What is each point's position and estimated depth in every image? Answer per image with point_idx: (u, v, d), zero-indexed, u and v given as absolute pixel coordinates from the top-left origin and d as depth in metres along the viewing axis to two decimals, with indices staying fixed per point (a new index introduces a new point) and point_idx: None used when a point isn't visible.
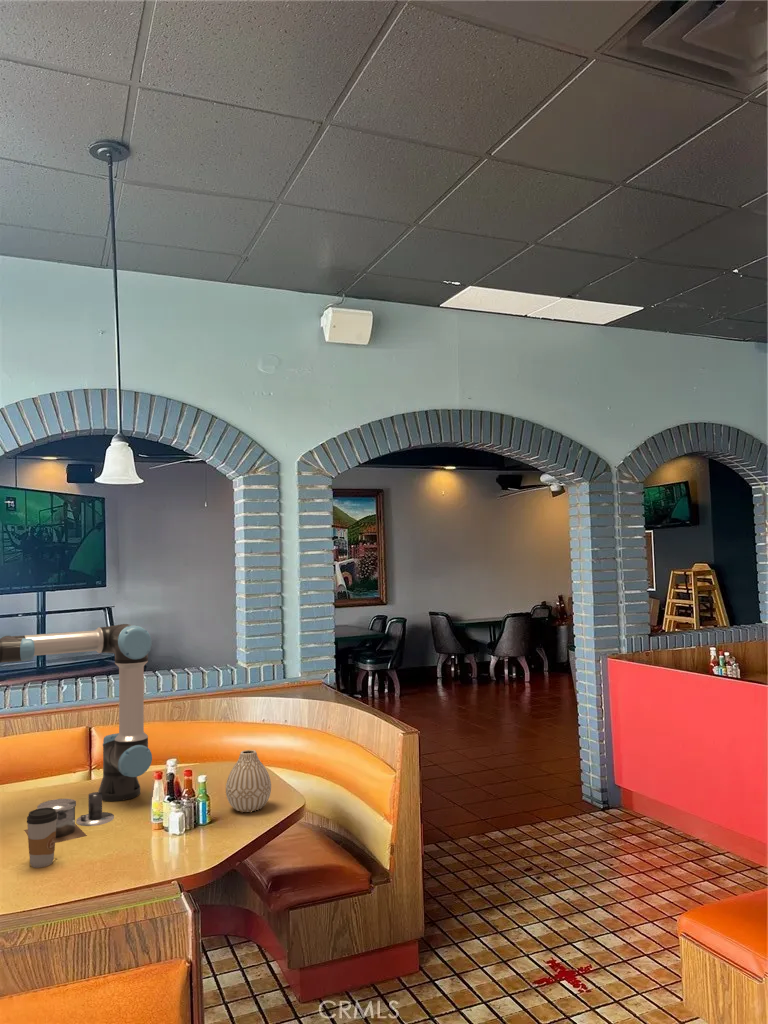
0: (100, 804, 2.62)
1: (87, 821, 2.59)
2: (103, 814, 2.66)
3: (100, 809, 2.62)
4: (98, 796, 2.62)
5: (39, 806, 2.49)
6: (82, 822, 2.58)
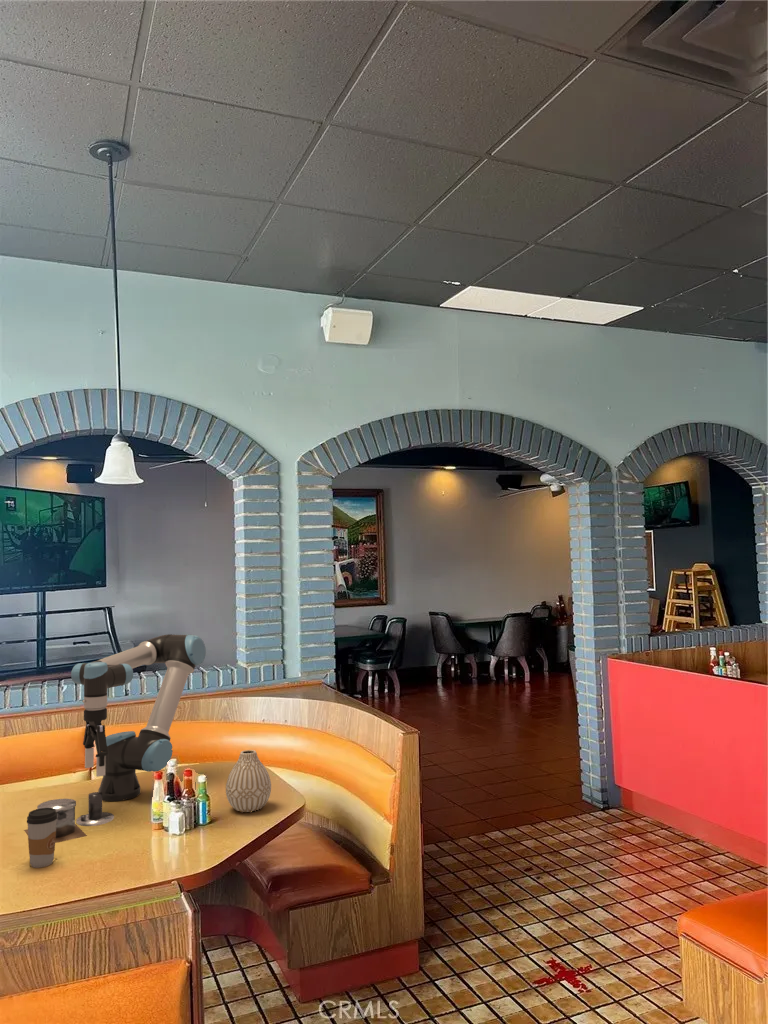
0: (100, 804, 2.62)
1: (87, 821, 2.59)
2: (103, 814, 2.66)
3: (100, 809, 2.62)
4: (98, 796, 2.62)
5: (39, 806, 2.49)
6: (82, 822, 2.58)
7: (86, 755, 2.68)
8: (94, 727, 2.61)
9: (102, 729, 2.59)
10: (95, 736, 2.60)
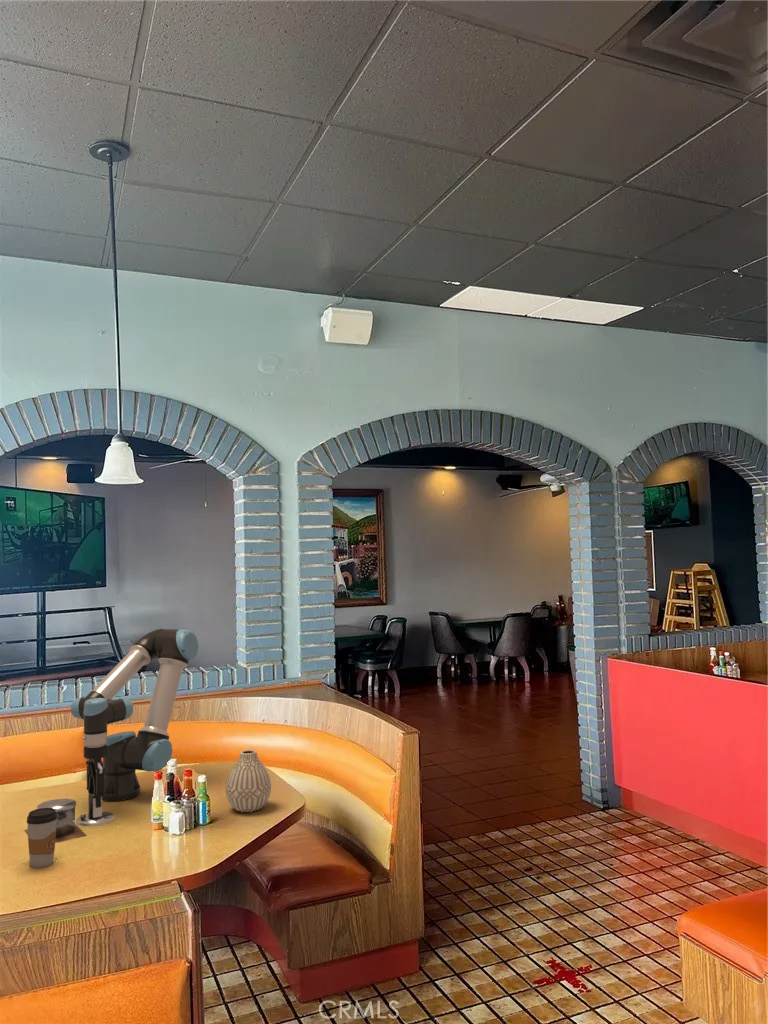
0: None
1: (87, 821, 2.59)
2: (103, 814, 2.66)
3: None
4: None
5: (39, 806, 2.49)
6: (82, 822, 2.58)
7: None
8: (94, 764, 2.61)
9: (102, 771, 2.59)
10: (94, 775, 2.61)
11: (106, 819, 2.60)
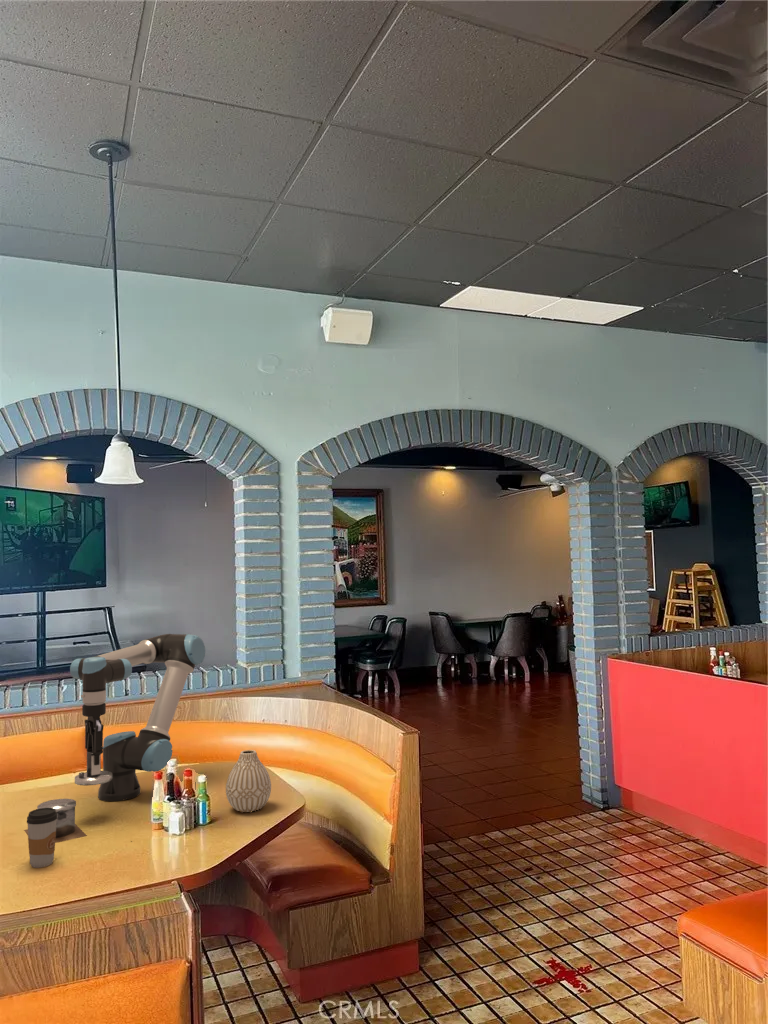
0: None
1: (85, 778, 2.59)
2: (101, 772, 2.66)
3: None
4: None
5: (39, 806, 2.49)
6: (80, 779, 2.58)
7: None
8: (93, 722, 2.61)
9: (100, 729, 2.59)
10: (93, 733, 2.61)
11: (104, 777, 2.61)
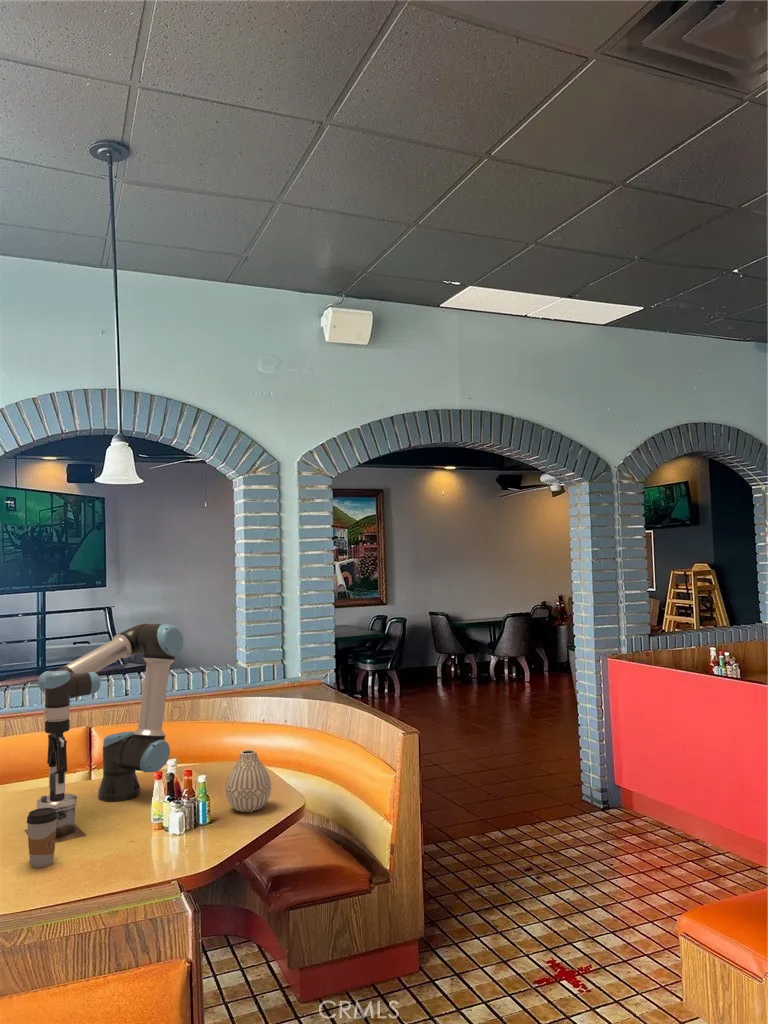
0: None
1: (48, 802, 2.48)
2: (66, 795, 2.55)
3: None
4: None
5: None
6: (42, 803, 2.47)
7: None
8: (55, 739, 2.50)
9: (63, 745, 2.47)
10: (56, 750, 2.49)
11: (68, 801, 2.49)
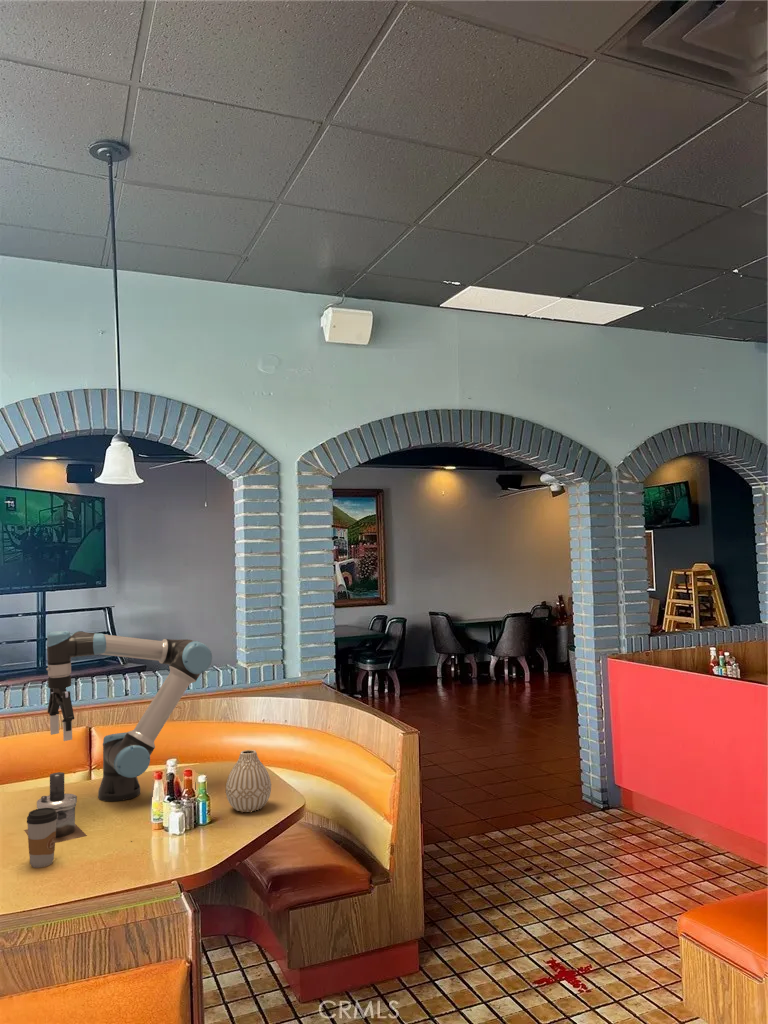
0: (62, 785, 2.51)
1: (48, 802, 2.48)
2: (66, 795, 2.55)
3: (62, 790, 2.51)
4: (60, 776, 2.51)
5: None
6: (42, 803, 2.47)
7: (51, 722, 2.74)
8: (59, 694, 2.67)
9: (67, 695, 2.65)
10: (61, 702, 2.67)
11: (68, 801, 2.49)
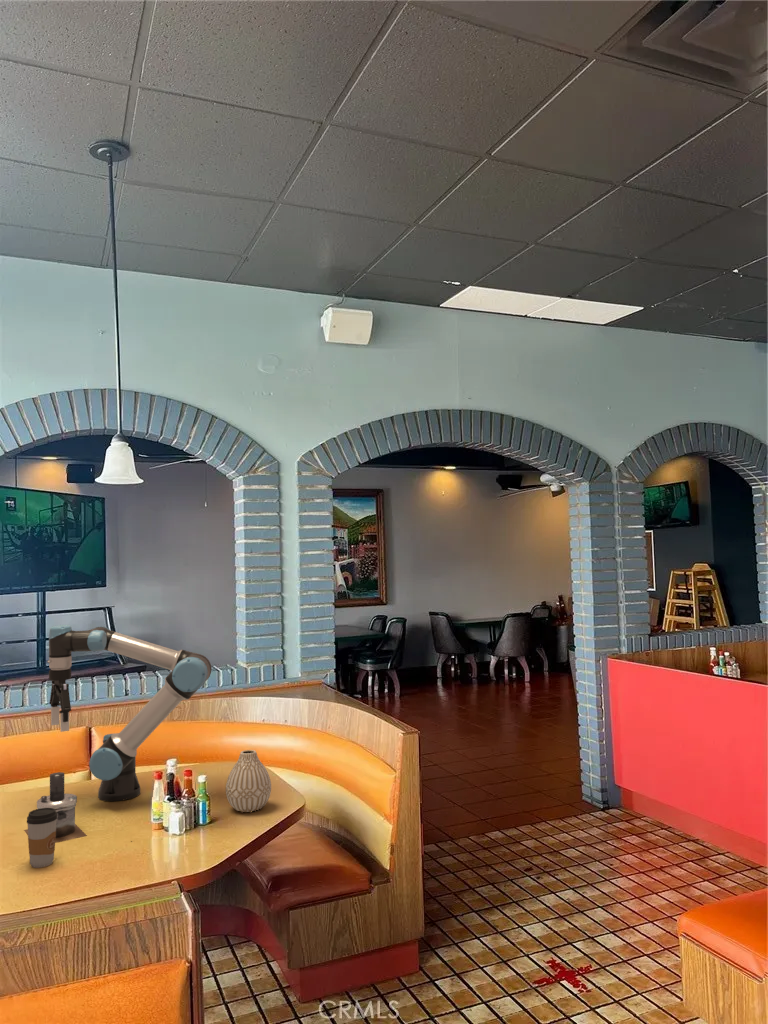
0: (62, 785, 2.51)
1: (48, 802, 2.48)
2: (66, 795, 2.55)
3: (62, 790, 2.51)
4: (60, 776, 2.51)
5: None
6: (42, 803, 2.47)
7: (52, 713, 2.84)
8: (58, 686, 2.77)
9: (66, 687, 2.75)
10: (59, 694, 2.76)
11: (68, 801, 2.49)
